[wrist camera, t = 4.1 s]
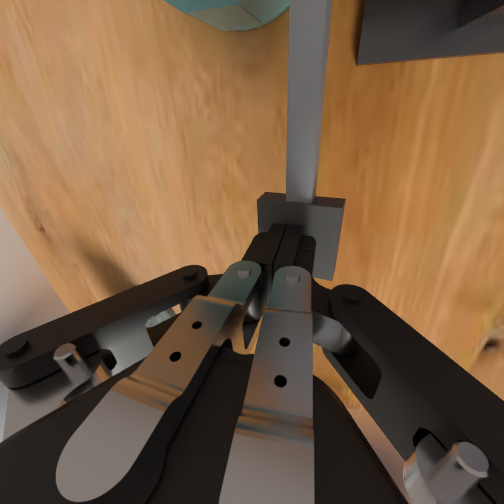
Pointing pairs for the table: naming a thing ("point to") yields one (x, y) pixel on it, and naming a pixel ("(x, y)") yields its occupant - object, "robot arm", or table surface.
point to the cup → (233, 12)
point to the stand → (429, 29)
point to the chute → (306, 139)
